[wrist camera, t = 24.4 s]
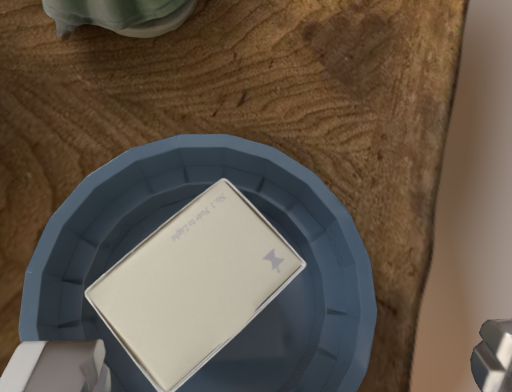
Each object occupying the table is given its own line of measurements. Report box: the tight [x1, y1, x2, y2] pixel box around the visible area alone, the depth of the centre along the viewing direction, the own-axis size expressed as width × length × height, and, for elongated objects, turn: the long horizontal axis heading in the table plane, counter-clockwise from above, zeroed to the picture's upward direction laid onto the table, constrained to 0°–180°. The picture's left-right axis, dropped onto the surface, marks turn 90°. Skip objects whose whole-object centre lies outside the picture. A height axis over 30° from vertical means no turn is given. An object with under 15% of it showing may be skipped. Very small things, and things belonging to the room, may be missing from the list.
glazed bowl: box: [18, 134, 377, 392], centre depth 23 cm, size 17×17×6 cm
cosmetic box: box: [85, 178, 307, 392], centre depth 19 cm, size 6×4×12 cm
